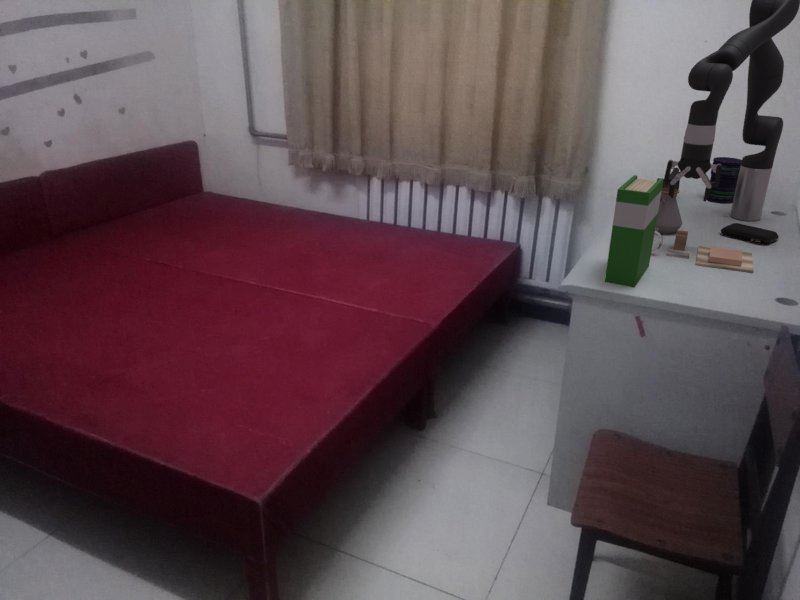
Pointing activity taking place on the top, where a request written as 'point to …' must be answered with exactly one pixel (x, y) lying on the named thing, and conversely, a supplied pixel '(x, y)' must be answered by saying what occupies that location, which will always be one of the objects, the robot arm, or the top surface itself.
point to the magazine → (672, 175)
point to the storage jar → (725, 180)
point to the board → (704, 261)
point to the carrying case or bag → (749, 233)
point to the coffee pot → (668, 213)
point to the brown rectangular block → (679, 245)
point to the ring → (660, 241)
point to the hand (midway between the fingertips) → (688, 199)
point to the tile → (725, 256)
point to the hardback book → (633, 230)
